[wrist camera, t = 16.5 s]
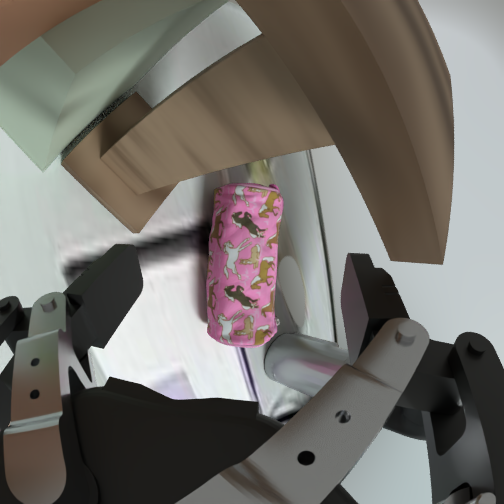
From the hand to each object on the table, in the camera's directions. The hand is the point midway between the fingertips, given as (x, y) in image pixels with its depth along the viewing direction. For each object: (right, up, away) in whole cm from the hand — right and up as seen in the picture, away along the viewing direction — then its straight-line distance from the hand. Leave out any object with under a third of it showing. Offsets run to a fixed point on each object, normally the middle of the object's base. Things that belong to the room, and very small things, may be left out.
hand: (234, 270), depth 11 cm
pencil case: (-3, 0, +32) cm, 32 cm away
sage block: (-21, +19, +14) cm, 31 cm away
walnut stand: (-14, +11, +21) cm, 28 cm away
